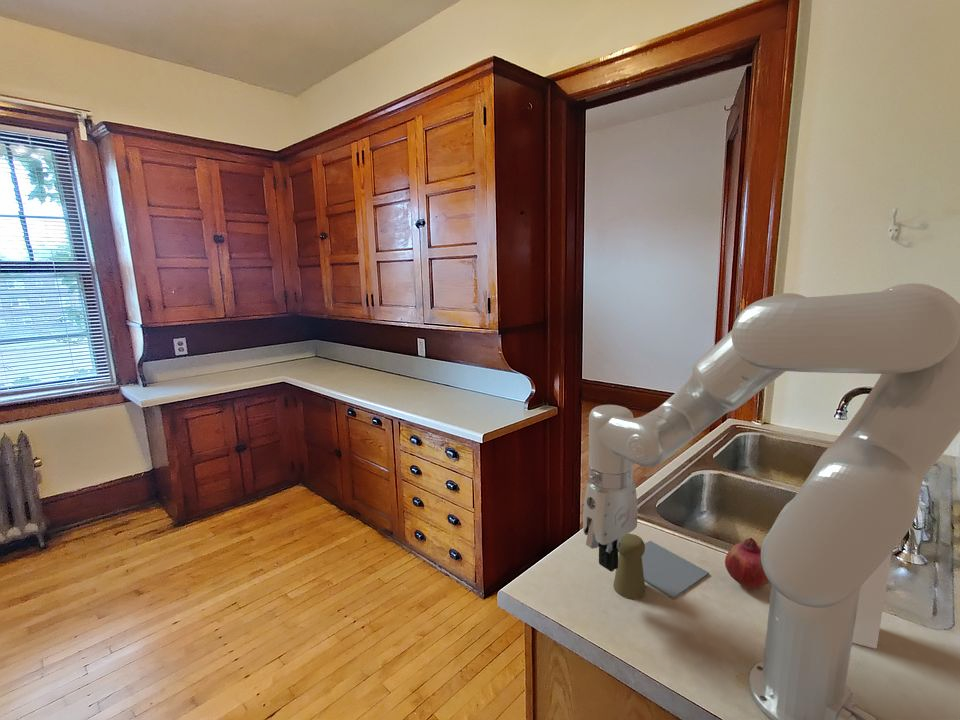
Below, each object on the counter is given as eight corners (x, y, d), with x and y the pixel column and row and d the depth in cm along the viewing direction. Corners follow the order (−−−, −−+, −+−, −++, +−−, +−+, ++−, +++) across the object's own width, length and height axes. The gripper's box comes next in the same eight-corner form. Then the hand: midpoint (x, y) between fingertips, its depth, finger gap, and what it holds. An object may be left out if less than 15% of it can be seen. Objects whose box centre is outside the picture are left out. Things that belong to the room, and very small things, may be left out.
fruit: (780, 590, 90) (785, 543, 88) (752, 604, 87) (757, 556, 84) (741, 567, 97) (745, 523, 95) (714, 579, 94) (718, 534, 92)
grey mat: (709, 574, 95) (709, 572, 95) (673, 599, 89) (673, 597, 88) (650, 542, 106) (650, 540, 106) (614, 562, 100) (614, 560, 100)
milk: (831, 638, 78) (846, 518, 74) (824, 613, 84) (837, 500, 79) (877, 649, 76) (896, 526, 71) (867, 623, 81) (883, 507, 77)
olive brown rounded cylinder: (641, 578, 95) (643, 529, 92) (649, 599, 89) (651, 547, 87) (610, 577, 95) (612, 528, 93) (616, 598, 89) (617, 546, 87)
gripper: (597, 495, 76) (596, 594, 80) (654, 470, 84) (650, 561, 88) (564, 479, 82) (564, 572, 86) (620, 457, 91) (618, 542, 94)
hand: (608, 566), depth 87 cm, fingers closed
